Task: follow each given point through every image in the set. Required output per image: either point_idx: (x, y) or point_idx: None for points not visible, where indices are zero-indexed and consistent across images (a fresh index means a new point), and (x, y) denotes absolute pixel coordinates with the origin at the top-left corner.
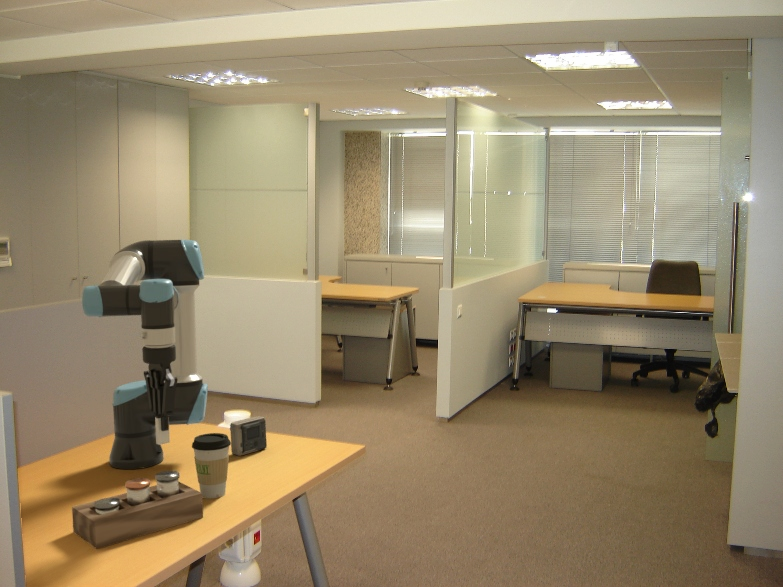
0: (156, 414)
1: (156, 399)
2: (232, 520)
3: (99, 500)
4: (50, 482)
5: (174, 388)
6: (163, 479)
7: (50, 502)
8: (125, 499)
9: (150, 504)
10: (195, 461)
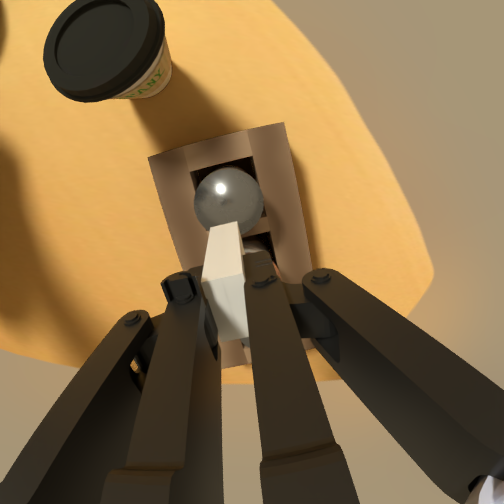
0: (218, 342)
1: (216, 417)
2: (320, 82)
3: (246, 341)
4: (6, 327)
5: (502, 402)
6: (258, 220)
7: (79, 346)
8: None
9: (292, 248)
10: (116, 98)
